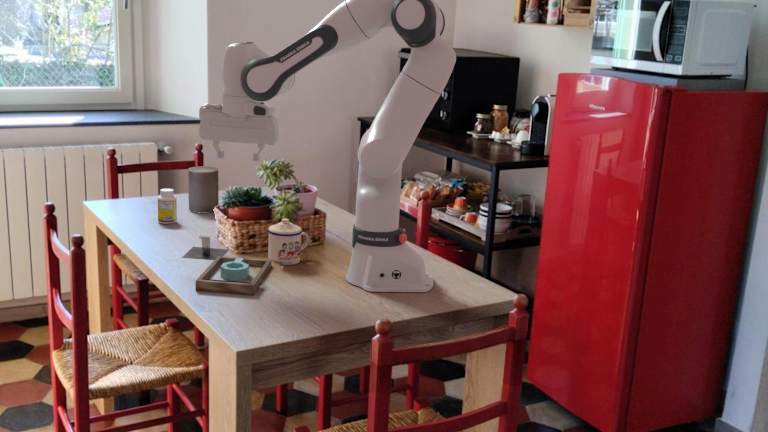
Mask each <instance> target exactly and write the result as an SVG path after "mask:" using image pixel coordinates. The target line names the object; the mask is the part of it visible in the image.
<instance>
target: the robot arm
mask: <svg viewBox="0 0 768 432" xmlns="http://www.w3.org/2000/svg"><path fill="white" fill-rule="evenodd" d="M445 19H446V18H445V15H444V13H443V11H442V9H441V8H440V7H439V5H438V4H437V2H435V1H434V0H343V1H342V2H340V3H339V4H338V5H337V6H336V7H334V8H333V9H332V10H331V11H329V12H328V13H327V14H326V15H325V16H324V17H323V18H322V19H321V20H320V21H319V22H318V23H317V24H315V26H313V27H312V28H311V29H310V30H309V31H308V32H307V33H305V34H304V35H302V36H300V37H299V38H298V39H297V40H295V41H294V42H292V43H290V44H289V45H288V46H286V47H285V48H283V49H282V50H280V51H278V52H277V53H275V54H271V53H270V52H267V51H265V50H264V49H263V48H261V47H260V46H258V44H256V42H253V41H243V42H234V43H230V44H228V45H227V46H226V47H225V49H224V53H223V58H222V59H223V61H222V72H221V73H222V74H221V75H222V76H221V77H222V80H223V88H222V91H221V104H210V103H205V104H203V105H202V106H200V108H199V111H198V116H199V117H198V118H199V119H200V120H199V122H200V123H199V130H198V137H199V138H200V139H201V140H202V141H211V142H212V146H213V147H214V150H215V151H216V158H217V159H225V150H221V147H220V146H219V145H220V144H221V142H224V143H225V142H226V143H238V144H240V143H242V144H255V145H257V148H258V150H257V152H255V153H253V154H252V157H253V158H252V161H254V162H260V160H261V153H262V152H263V151H264V149H265V146H266V145H268V146H274V145H275V144H277V142H278V141H279V124H278V119H277V118H276V116H275V115H274V114H275V110H276V109H275V105H272V104H269V103H267V102H268V101H269V100H272V99H273V98H275V97H278V96H281V95H283V94H286V93H287V92H288V91H290V90H291V89H292V87H293V86H294V84H295V81H296V74H297V73H298V72H300V71H302V70H303V69H304V68H306V67H307V66H309V65H310V64H313V63H314V62H316V61H318V60H319V59H322V58H325V57H328V56H332V55H335V54H337V55H338V54H341V53H344V52H345V53H346V52H348V51H350V50H353V49H355V48H357V47H359V46H361V45H363V44H365V43H367V42H369V41H370V40H371V39H373V38H374V37H376V36H377V35H379V34H380V33H382V32H384V31H387V30H388V29H394V31H395V32H396V34H398V36H400V38H401V39H402V40H403V41H404V42H405V44H407V47H409V48H410V53H409V57H408V60H407V61H406V63H405V64H404V66H403V68H402V70H401V71H400V73H399V75H398V77H397V78H396V80H395V81H394V84H393V85H392V87H391V88H390V90H389V92H388V93H387V95H386V96H385V99H384V101H383V103H382V104H381V106H380V108H379V110H378V112H377V114H376V115H375V117H374V119H373V121H372V123H371V125H370V127H369V128H368V129H367V130H366V131H365V132H364V134H363V135H362V137H361V139H360V142H359V147H358V149H357V160H358V169H357V170H358V172H357V184H356V194H355V195H356V197H355V214H354V215H355V218H354V224H353V227H352V230H351V247H352V252H351V258H350V262H349V266H348V270H347V271H346V275H345V280H346V281H347V282H348V283H350V284H351V285H354V286H357V287H359V288H361V289H363V290H365V291H366V292H371V293H373V292H375V293H376V292H377V293H380V292H381V293H427V292H429V291H431V290H432V289H433V287H434V285H435V283H434V277H433V276H432V275H431V274H430V273H429V272H427V271H426V269H427V268H426V263H425V260H424V258H423V255H421V254H420V253H418V252H417V251H416V250H415V249H414V248H413V247H411V246H410V245H409V244H408V243H407V240H408V235H407V232H406V229H405V228H401V227H400V226H399V223H400V211H401V210H400V209H401V207H400V206H401V195H402V194H401V191H402V176H403V175H402V173H403V164H404V161H405V159H406V157H407V155H408V154H409V152H410V150H411V148H412V146H414V145H413V144H414V143H415V141H416V139H417V137H418V135H419V133H420V131H421V129H422V127H423V125H424V123H425V122H426V120H427V118H428V116H429V115H430V113H431V112H432V110H433V108H434V107H435V104H436V103H437V102H438V100H439V98H440V97H441V95H442V94H443V91H444V90H445V88H446V86H447V84H448V82H449V80H450V77H451V75H452V73H453V69H454V67H455V64H456V62H457V54H456V52H455V49H453V47H452V46H451V44H449V43H448V42H446V41H445V40H444V39H442V37H441V36H442V35H443V33H444V30H445V27H446V26H445V25H446V20H445Z"/></svg>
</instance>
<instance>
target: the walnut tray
mask: <svg viewBox="0 0 768 432" xmlns="http://www.w3.org/2000/svg"><path fill="white" fill-rule="evenodd" d="M236 258H238V257H235V256H225V255H224V256H218V257H217V258H216V259H215V260H212V262H211V264H209V266H208V267H207V268H206V269H204V271H203V272H202V273H201V274H200V275H199V276H198V278H197V279H196V280H195V291H197V292H205V293H206V292H207V293H209V292H210V293H218V294H219V293H221V294H232V295H233V294H234V295H247V296H255V294H256V292H257V291H258V290H259V288H260V287H261V285H262V283H261V282H262V280H263V279H264V278H265V276H266V274H267V273H268V271H269V270H270V269H271V267H272V260H270V259H260V258H248V257H247V258H245V257H242V258H243V262H244V263H246V264H248V265H249V266H253V267H261V269H260V270H259V271H258V273H257V274H256V276H255V277H254V279H252V281H251V282H247V281H236V280H222V279H221V280H220V279H211V278H210V277H211V275H212V274H213V273H214V272H215V271H216V270H217V268H218V267H220V266H221V265H222V264H223V263H226V262H231V261H235V259H236ZM235 281H236V282H235Z"/></svg>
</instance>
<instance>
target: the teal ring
mask: <svg viewBox="0 0 768 432" xmlns="http://www.w3.org/2000/svg"><path fill="white" fill-rule="evenodd" d="M243 258H244V257H237V258H236V259H235V261H231V262H226V263H221V264H220V278H223V279H225V281H235V282H237V281H240V280H246V279H248V278H249V275H250V265H248V264H246V263H244V262H243Z"/></svg>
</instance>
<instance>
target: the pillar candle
mask: <svg viewBox="0 0 768 432" xmlns="http://www.w3.org/2000/svg"><path fill="white" fill-rule="evenodd" d="M187 170H188V171H187V172H188V211H189V210H191V211H190V212H193V211H195V212H211V213H214V212H213V209H214V207H215V206H217V205H218V206H219V168H217V167H214V166H209V165H206V166H205V165H202V166H199V165H198V166H192V167H189V168H188V169H187ZM195 212H194V213H195Z"/></svg>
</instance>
